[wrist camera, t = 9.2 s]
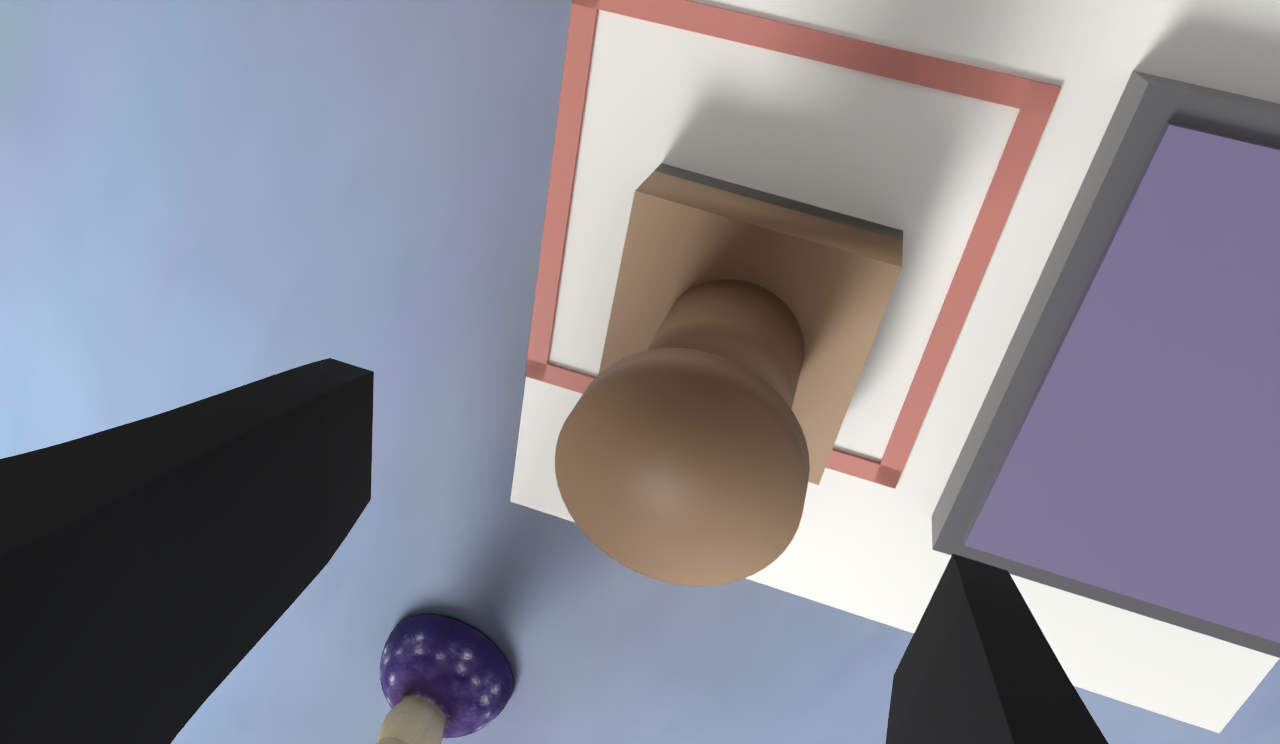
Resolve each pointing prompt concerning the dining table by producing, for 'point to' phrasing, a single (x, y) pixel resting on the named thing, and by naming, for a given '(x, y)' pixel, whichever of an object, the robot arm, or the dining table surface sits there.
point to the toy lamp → (440, 681)
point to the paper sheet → (931, 260)
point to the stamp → (721, 375)
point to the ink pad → (1146, 380)
